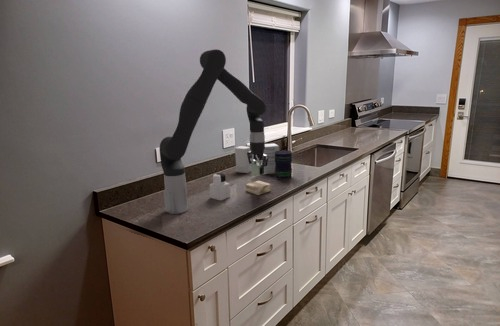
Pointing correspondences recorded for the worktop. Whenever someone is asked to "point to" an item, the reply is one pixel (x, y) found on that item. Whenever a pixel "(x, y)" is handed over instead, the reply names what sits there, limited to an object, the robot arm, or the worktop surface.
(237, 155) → the skincare box
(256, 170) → the sage cube
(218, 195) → the medicine bottle
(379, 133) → the worktop surface
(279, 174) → the storage jar
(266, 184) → the maple box
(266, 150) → the supplement box
